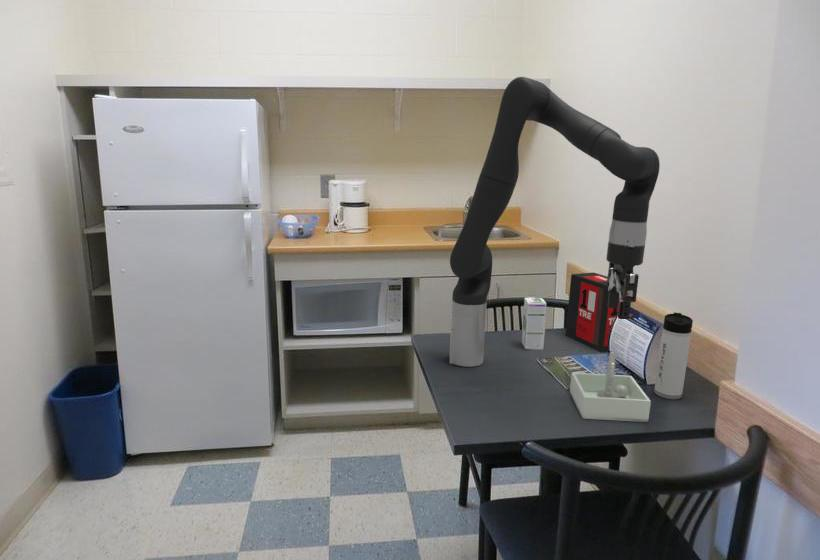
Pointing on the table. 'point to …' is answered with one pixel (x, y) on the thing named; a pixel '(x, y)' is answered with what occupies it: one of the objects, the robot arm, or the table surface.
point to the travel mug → (673, 356)
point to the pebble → (621, 391)
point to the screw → (609, 379)
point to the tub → (609, 408)
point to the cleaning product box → (590, 311)
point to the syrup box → (534, 323)
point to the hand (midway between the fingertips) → (617, 313)
